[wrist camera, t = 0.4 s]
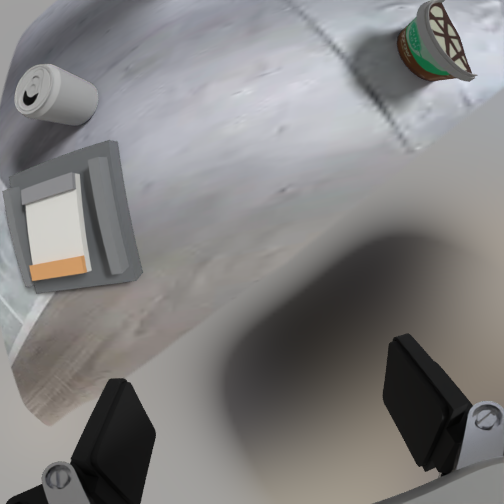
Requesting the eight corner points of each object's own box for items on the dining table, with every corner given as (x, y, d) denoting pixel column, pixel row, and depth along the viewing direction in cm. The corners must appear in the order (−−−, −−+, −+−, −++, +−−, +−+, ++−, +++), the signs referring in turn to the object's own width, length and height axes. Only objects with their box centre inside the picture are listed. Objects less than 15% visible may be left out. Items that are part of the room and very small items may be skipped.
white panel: (29, 191, 32) (21, 190, 30) (79, 174, 32) (71, 172, 30) (40, 278, 33) (32, 281, 31) (91, 270, 33) (83, 273, 31)
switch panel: (20, 175, 34) (-2, 178, 29) (117, 141, 35) (100, 139, 29) (46, 286, 40) (28, 300, 34) (143, 272, 40) (130, 288, 34)
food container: (377, 19, 31) (409, -9, 21) (409, 19, 30) (443, -4, 21) (407, 93, 34) (447, 79, 24) (437, 90, 34) (478, 79, 24)
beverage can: (57, 121, 33) (4, 113, 21) (73, 79, 31) (24, 59, 20) (91, 130, 34) (40, 122, 22) (107, 86, 32) (63, 63, 21)
